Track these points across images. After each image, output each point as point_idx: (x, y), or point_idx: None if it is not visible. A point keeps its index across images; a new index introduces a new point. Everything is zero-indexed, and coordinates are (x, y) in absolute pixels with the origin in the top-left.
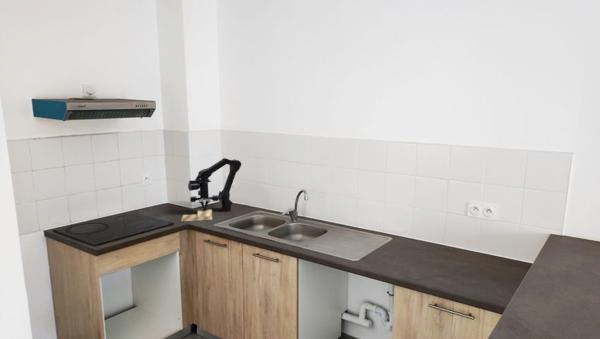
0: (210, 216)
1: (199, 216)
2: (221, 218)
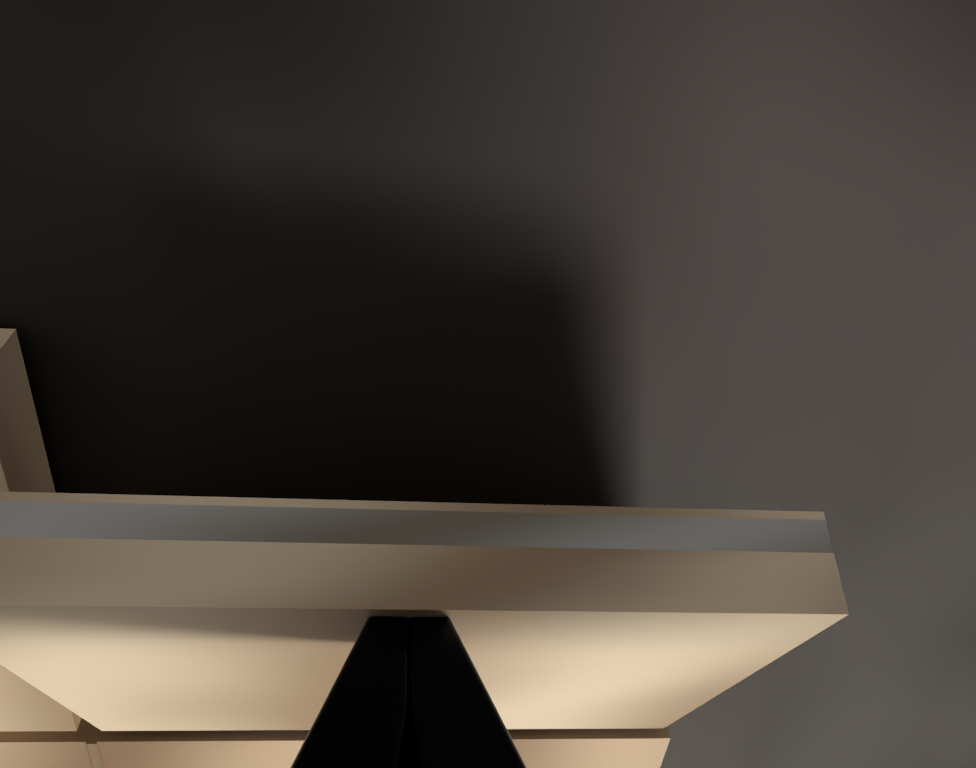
0: (603, 749)
1: (177, 727)
2: (915, 723)
